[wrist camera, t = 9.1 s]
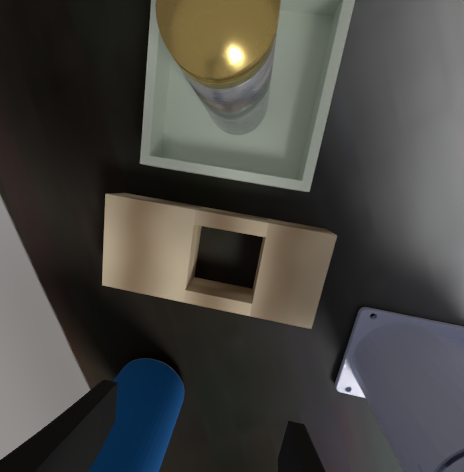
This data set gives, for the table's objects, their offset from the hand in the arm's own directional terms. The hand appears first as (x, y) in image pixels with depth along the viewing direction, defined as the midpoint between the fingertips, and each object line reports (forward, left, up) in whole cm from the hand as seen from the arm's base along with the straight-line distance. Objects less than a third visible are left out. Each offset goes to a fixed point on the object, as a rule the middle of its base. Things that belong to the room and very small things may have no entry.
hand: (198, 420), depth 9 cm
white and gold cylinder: (+2, -15, -10) cm, 18 cm away
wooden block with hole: (+2, -4, -10) cm, 11 cm away
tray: (+2, -15, -10) cm, 19 cm away
